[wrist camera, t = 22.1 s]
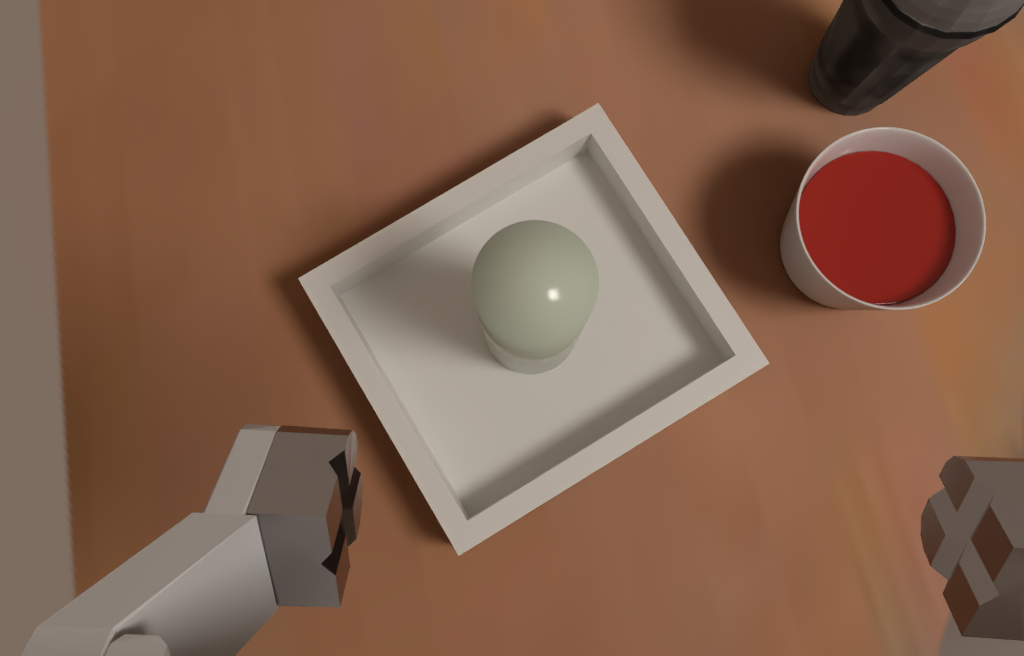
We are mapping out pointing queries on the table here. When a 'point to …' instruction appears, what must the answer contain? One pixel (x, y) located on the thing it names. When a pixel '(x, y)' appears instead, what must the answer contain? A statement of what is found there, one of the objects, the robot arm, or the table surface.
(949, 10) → the beverage cup
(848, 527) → the table surface
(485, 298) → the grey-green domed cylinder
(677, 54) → the table surface
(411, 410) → the tray
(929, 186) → the candle
